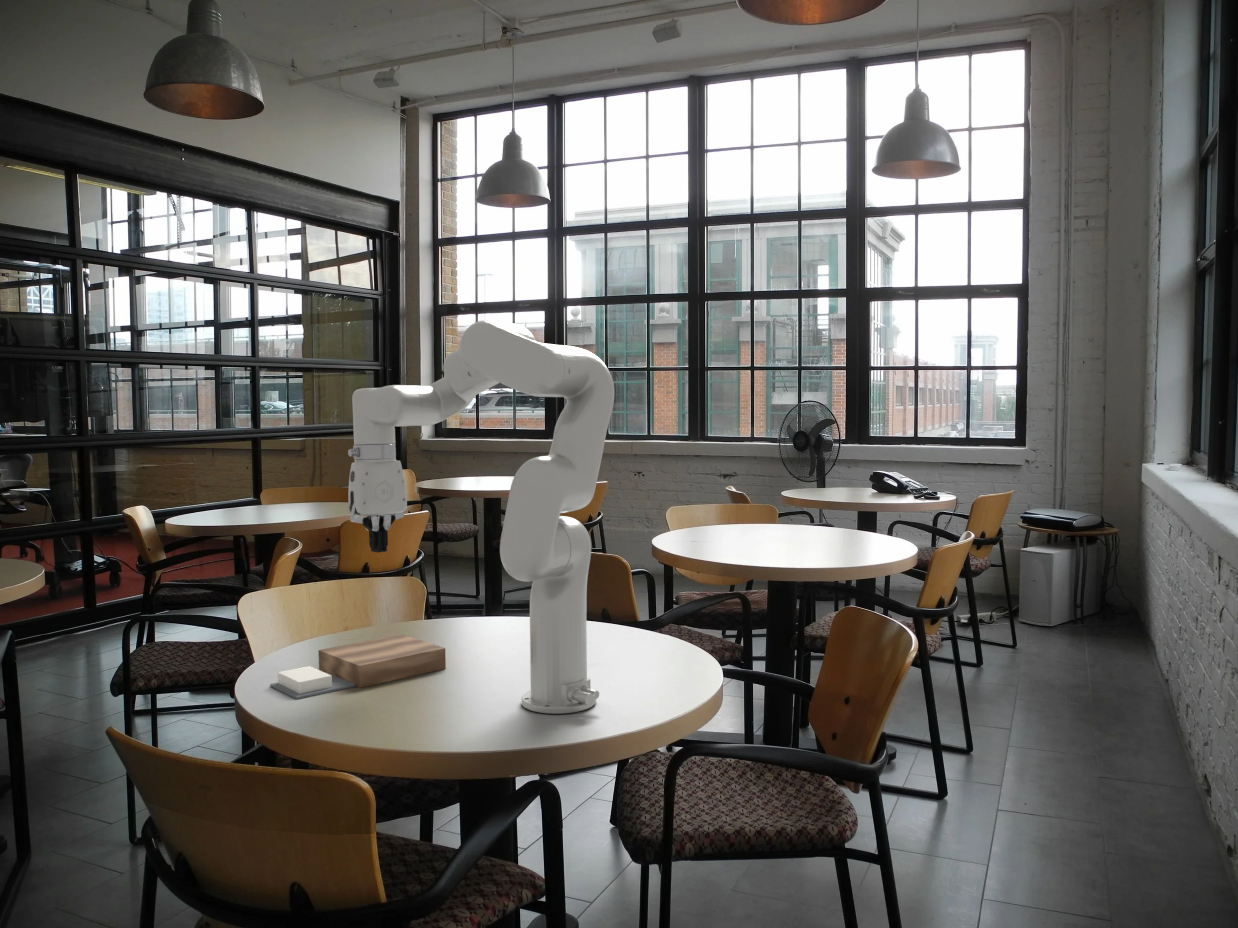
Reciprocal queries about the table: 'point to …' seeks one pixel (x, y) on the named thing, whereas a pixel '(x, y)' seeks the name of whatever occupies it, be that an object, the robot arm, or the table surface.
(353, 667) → the board
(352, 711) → the table surface
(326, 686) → the cream white rectangular block
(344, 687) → the mat
